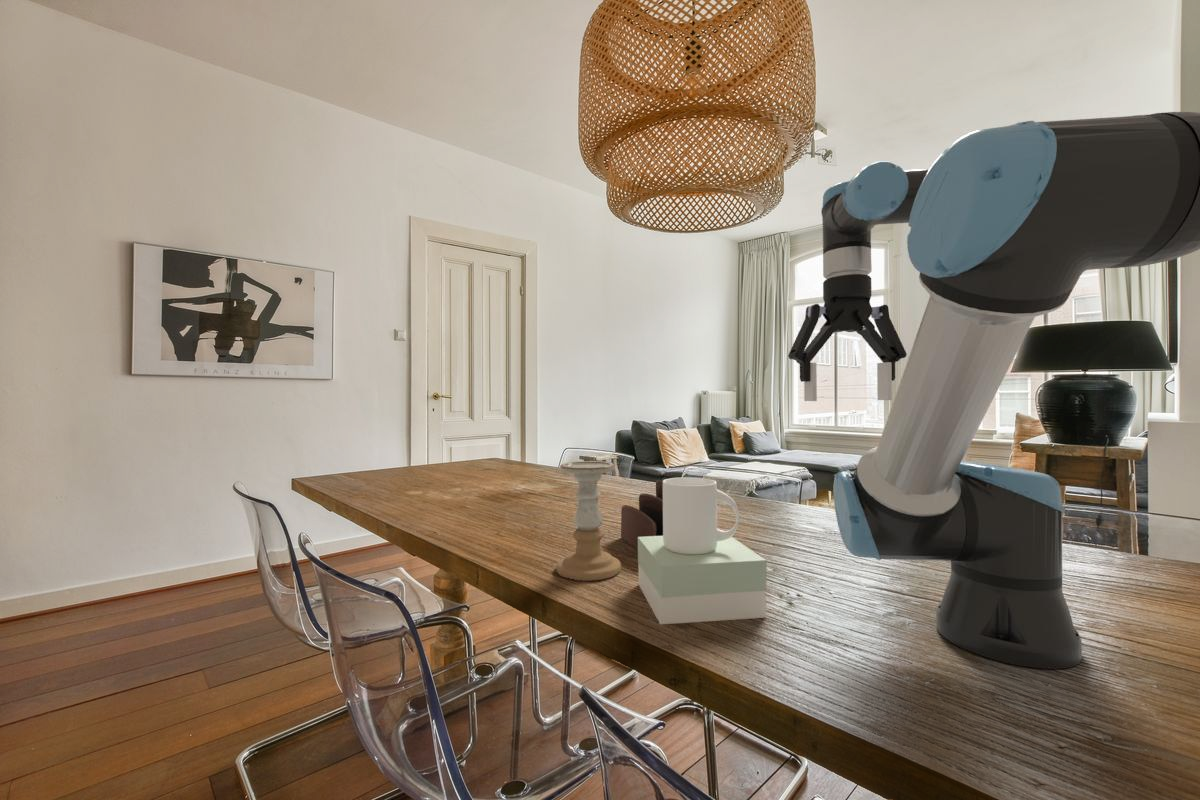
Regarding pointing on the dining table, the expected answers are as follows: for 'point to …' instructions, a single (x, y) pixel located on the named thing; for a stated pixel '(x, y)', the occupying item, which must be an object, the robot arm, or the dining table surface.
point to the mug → (693, 515)
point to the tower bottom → (703, 605)
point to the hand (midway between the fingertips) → (847, 400)
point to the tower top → (701, 569)
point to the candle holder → (588, 527)
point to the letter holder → (643, 517)
